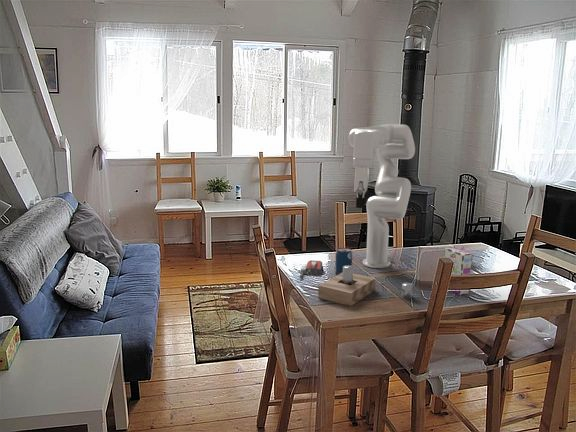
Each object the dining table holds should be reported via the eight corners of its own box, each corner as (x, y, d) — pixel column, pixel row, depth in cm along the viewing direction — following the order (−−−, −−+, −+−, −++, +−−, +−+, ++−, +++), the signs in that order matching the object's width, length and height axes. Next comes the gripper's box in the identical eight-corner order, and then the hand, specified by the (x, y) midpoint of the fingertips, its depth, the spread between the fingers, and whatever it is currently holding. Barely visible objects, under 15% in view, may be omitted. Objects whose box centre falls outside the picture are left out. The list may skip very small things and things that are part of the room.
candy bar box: (470, 294, 206) (473, 253, 202) (459, 295, 204) (463, 255, 200) (451, 284, 216) (454, 246, 212) (441, 286, 214) (444, 247, 211)
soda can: (354, 277, 224) (355, 250, 221) (341, 280, 220) (342, 252, 217) (345, 273, 229) (345, 246, 227) (331, 275, 226) (332, 248, 223)
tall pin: (345, 291, 208) (345, 264, 205) (354, 293, 206) (355, 266, 203) (340, 294, 205) (340, 267, 202) (349, 296, 202) (350, 269, 200)
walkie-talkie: (303, 265, 240) (298, 280, 221) (303, 256, 239) (298, 270, 220) (322, 266, 239) (319, 281, 220) (323, 257, 238) (319, 271, 219)
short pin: (404, 294, 205) (404, 281, 204) (413, 296, 203) (414, 284, 202) (399, 297, 202) (400, 284, 201) (409, 299, 200) (410, 287, 199)
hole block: (343, 283, 217) (344, 271, 216) (374, 290, 209) (375, 278, 208) (318, 297, 201) (318, 285, 200) (350, 306, 193) (351, 293, 192)
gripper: (354, 159, 217) (353, 200, 221) (351, 165, 200) (349, 209, 204) (373, 160, 215) (371, 201, 219) (371, 165, 199) (369, 210, 203)
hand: (361, 205), depth 212 cm, fingers open, 9 cm apart
